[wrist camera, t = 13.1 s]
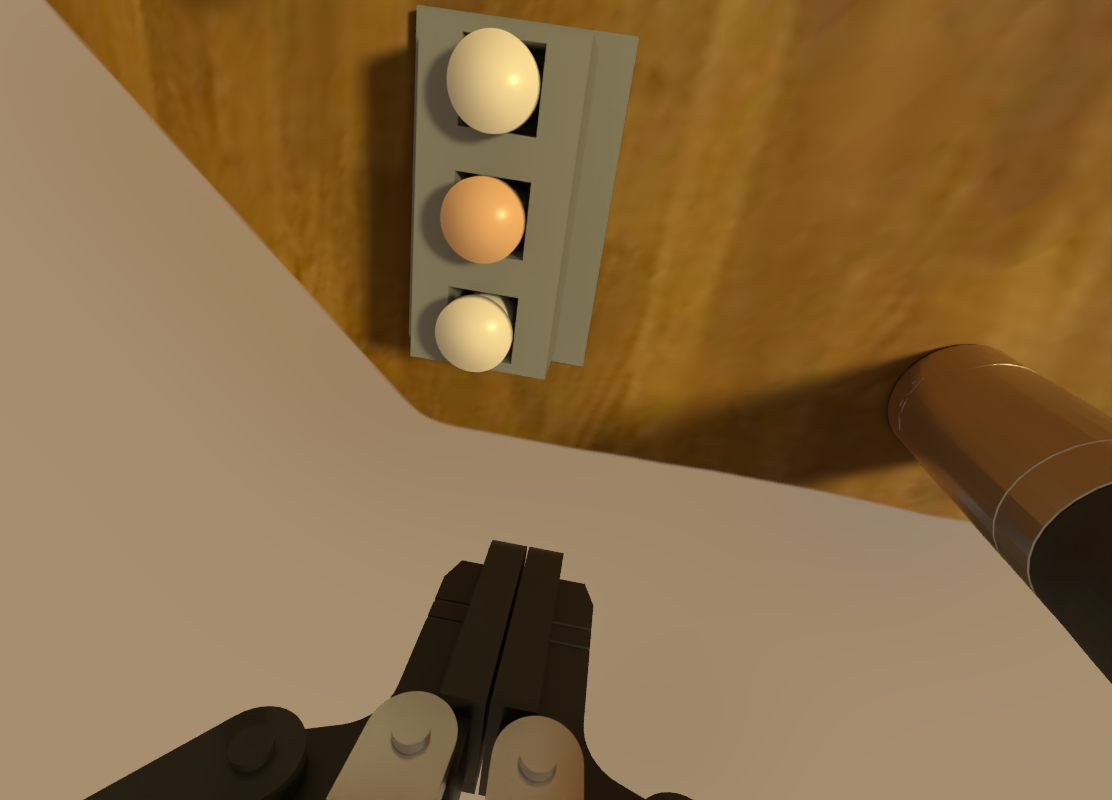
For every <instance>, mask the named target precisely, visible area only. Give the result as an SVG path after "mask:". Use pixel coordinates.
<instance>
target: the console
mask: <svg viewBox="0 0 1112 800" xmlns="http://www.w3.org/2000/svg"><path fill="white" fill-rule="evenodd" d="M483 28H497V29H502V30H504V31H507V32H509V33H511V34H512V35H514V36H515V37H517V38H518V39H519V40H520V41H521V42H523V43H524V44H525V46H526V47H527V48H528V49H529V50H530V52H531V53H532V55H533V57H534V59H535V61H536V63H537V66H538V70H539V72H540V73H541V74H542V76H543V81H542V90H541V99H540V108H539V116H538V117H537V118H536V119H535V120H533V121H531V122H529V123H526V124H523V125H522V126H520V127H519V128H517V129H516V130H514V131H511V132H508V133H504V134H488V133H484V132H480V131H478V130H476V129H474V128H472V127H470V126H469V125H468V124H466V123H465V122H464V121H463V120H462V119H461V118H460V116H459V115H458V114H457V112H456V111H455V109H454V107H453V105H452V103H451V100H450V98H449V94H448V90H447V68H448V64H449V60H450V57H451V55H452V53H453V51H454V49H455V48H456V46H457V45H458V44H459V42H460V41H461V40H462V39H463V38H464V37H466V36H467V35H468V34H470V33H472V32H474V31H476V30H479V29H483ZM638 42H639V37H637V36H630V35H623V34H617V33H610V32H603V31H596V30H589V29H582V28H575V27H568V26H561V25H554V24H547V23H540V22H534V21H527V20H520V19H513V18H506V17H499V16H492V15H485V14H478V13H471V12H464V11H457V10H450V9H444V8H437V7H430V6H423V5H417V16H416V57H415V98H414V138H413V179H412V220H411V261H410V301H409V336H411V351H410V356H414V357H420V358H425V359H431V360H437V361H442V362H448V363H450V362H449V361H448V360H447V359H446V358H445V357H444V356H443V354H442V353H441V351H440V349H439V347H438V345H437V342H436V338H435V325H436V321H437V319H438V316H439V315H440V313H441V312H442V311H443V309H444V308H445V307H447V306H448V305H449V304H450V303H451V302H452V301H454V300H455V299H457V298H459V297H462V296H465V295H473V294H474V293H475V292H476V291H479V292H485V293H491V294H497V295H503V296H509V297H515V298H518V306H517V315H516V322H515V324H514V325H513V327H512V328H513V340H512V344H511V347H510V349H509V351H508V353H507V354H506V356H505V358H504V359H503V360H502V361H501V362H500V363H499V364H498V365H497V366H495V367H494V368H492V369H490V370H493V371H499V372H504V373H510V374H516V375H521V376H527V377H533V378H538V379H544V380H545V377H546V374H547V372H548V369H549V366H550V363H551V361H554V362H560V363H565V364H571V365H577V366H583V362H584V356H585V351H586V345H587V339H588V333H589V327H590V322H591V316H592V310H593V304H594V298H595V292H596V287H597V281H598V275H599V269H600V263H601V258H602V252H603V246H604V240H605V234H606V228H607V223H608V217H609V211H610V205H611V199H612V193H613V188H614V182H615V176H616V170H617V164H618V159H619V153H620V147H621V141H622V135H623V129H624V124H625V118H626V112H627V106H628V100H629V95H630V89H631V83H632V77H633V71H634V65H635V60H636V54H637V48H638ZM482 175H484V176H491V177H495V178H497V179H500V180H501V179H512V180H517V181H519V182H521V183H522V184H524V185H525V186H526V187H527V189H528V190H529V191H530V198H529V207H528V216H527V225H526V227H525V230H524V233H523V237H522V239H521V241H520V243H519V244H518V246H517V247H516V248H515V249H514V250H513V251H512V252H511V253H510V254H509V255H508V256H507V257H505V258H504V259H502V260H500V261H497V262H494V263H489V264H479V263H474V262H471V261H468V260H466V259H464V258H463V257H461V256H460V255H458V254H457V253H456V252H455V251H454V250H453V249H452V248H451V247H450V245H449V244H448V242H447V241H446V239H445V237H444V234H443V232H442V228H441V222H440V212H441V207H442V203H443V200H444V198H445V196H446V194H447V193H448V192H449V190H450V189H451V188H452V187H453V186H454V185H455V184H457V183H458V182H460V181H462V180H464V179H467V178H470V177H474V176H482Z"/></svg>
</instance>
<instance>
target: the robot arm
mask: <svg viewBox="0 0 1112 800" xmlns="http://www.w3.org/2000/svg"><path fill="white" fill-rule="evenodd" d="M888 419H889V423H890V426H891V428H892V430H893V432H894V434H895V436H896V437H897V438H898V439H899V440H900V441H901V442H902V444H903V445H904V446H905V447H906V448H907V449H908V450H909V452H910V453H911V454H912V455H913V456H914V457H915V458H916V460H917V461H918V462H919V463H920V465H921V466H922V467H923V468H924V469H925V470H926V471H927V473H928V474H929V475H930V476H931V477H932V478H933V479H934V481H935V482H936V483H937V484H938V485H939V486H940V487H941V488H942V490H943V491H944V492H945V493H946V494H947V495H948V496H949V498H950V499H951V500H952V501H953V502H954V503H955V504H956V506H957V507H958V508H959V509H960V510H961V511H962V512H963V513H964V515H965V516H966V517H967V518H968V519H969V520H970V521H971V523H972V524H973V525H974V526H975V527H976V528H977V529H978V530H979V532H980V533H981V534H982V535H983V536H984V537H985V538H986V539H987V541H988V542H989V543H990V544H991V545H992V546H993V548H995V550H996V551H997V552H998V553H999V554H1000V555H1001V557H1002V558H1003V559H1004V560H1005V561H1006V562H1007V563H1008V564H1009V565H1010V566H1011V567H1012V569H1013V570H1014V571H1015V572H1016V573H1017V574H1018V576H1019V577H1020V578H1021V579H1022V580H1023V581H1024V582H1025V584H1026V585H1027V586H1028V587H1029V588H1030V589H1031V590H1032V591H1033V592H1034V594H1035V595H1036V596H1037V597H1038V598H1039V599H1040V600H1041V601H1042V603H1043V604H1044V605H1045V606H1046V607H1047V608H1048V609H1049V610H1050V612H1051V613H1052V614H1053V615H1054V616H1055V617H1056V618H1057V619H1058V621H1059V622H1060V623H1061V624H1062V625H1063V626H1064V628H1066V630H1067V631H1068V632H1069V634H1070V635H1071V636H1072V637H1073V638H1074V639H1075V641H1076V642H1077V643H1078V644H1079V646H1080V647H1081V648H1082V649H1083V650H1084V652H1085V653H1086V654H1087V655H1088V656H1089V658H1090V659H1091V660H1092V661H1093V662H1094V664H1095V665H1096V666H1097V667H1098V668H1099V669H1100V671H1102V673H1103V674H1104V675H1105V676H1106V678H1107V679H1108V680H1109V681H1110V682H1111V683H1112V417H1111V416H1110V415H1108V414H1106V413H1104V412H1103V411H1101V410H1099V409H1098V408H1096V407H1094V406H1092V405H1091V404H1089V403H1087V402H1086V401H1084V400H1082V399H1081V398H1079V397H1077V396H1075V395H1074V394H1072V393H1070V392H1069V391H1067V390H1065V389H1063V388H1062V387H1060V386H1058V385H1057V384H1055V383H1053V382H1052V381H1050V380H1048V379H1046V378H1045V377H1043V376H1041V375H1040V374H1038V373H1037V372H1035V371H1033V370H1032V369H1030V368H1028V367H1026V366H1025V365H1023V364H1021V363H1020V362H1018V361H1016V360H1014V359H1013V358H1011V357H1009V356H1008V355H1006V354H1004V353H1002V352H1000V351H998V350H995V349H993V348H991V347H986V346H981V345H958V346H953V347H948V348H945V349H942V350H939V351H937V352H934V353H932V354H930V355H928V356H926V357H925V358H923V359H921V360H919V361H918V362H917V363H916V364H914V365H913V366H912V367H911V368H909V369H908V370H907V371H906V372H905V374H904V375H903V376H902V377H901V378H900V379H899V380H898V382H897V384H896V386H895V387H894V389H893V391H892V394H891V397H890V400H889V403H888ZM526 551H527V546H522V545H517V544H511V543H506V542H501V541H496V540H493V541H492V542H491V545H490V548H489V550H488V554H487V556H486V559H485V562H484V565H483V564H478V563H472V562H467V561H461V562H460V563H459V564H458V565H457V566H455V567H454V568H453V569H452V570H451V571H450V572H449V573H448V574H447V575H445V577H444V579H443V581H442V584H441V586H440V588H439V590H438V593H437V595H436V598H435V602H433V605H432V607H431V609H430V612H429V614H428V618H427V619H426V621H425V624H424V626H423V628H422V630H421V633H420V635H419V637H418V640H417V642H416V644H415V647H414V649H413V651H412V654H411V656H410V659H409V661H408V664H407V666H406V668H405V671H404V673H403V675H402V678H401V680H400V682H399V684H398V686H397V688H396V690H395V692H394V694H393V695H392V696H391V698H390V699H389V700H387V701H385V702H384V703H383V704H381V705H380V706H379V707H378V708H377V709H376V710H375V711H374V713H372V714H371V715H369V716H367V717H365V718H363V719H361V720H358V721H355V722H352V723H348V724H343V725H335V726H327V727H318V728H310V729H305V728H304V726H303V724H302V722H301V720H300V719H299V718H298V717H297V716H296V715H295V714H294V713H292V712H291V711H289V710H287V709H284V708H280V707H273V706H267V707H259V708H253V709H250V710H247V711H244V712H242V713H240V714H238V715H236V716H234V717H232V718H230V719H228V720H227V721H225V722H223V723H221V724H219V725H218V726H216V727H214V728H212V729H211V730H209V731H207V732H205V733H203V734H201V735H200V736H198V737H196V738H194V739H192V740H190V741H189V742H187V743H185V744H183V745H181V746H180V747H178V748H176V749H174V750H173V751H171V752H169V753H167V754H165V755H163V756H162V757H160V758H158V759H156V760H154V761H153V762H151V763H149V764H147V765H145V766H144V767H142V768H140V769H138V770H137V771H135V772H133V773H131V774H129V775H128V776H126V777H124V778H122V779H120V780H118V781H117V782H115V783H113V784H111V785H109V786H108V787H106V788H104V789H102V790H100V791H98V792H97V793H95V794H93V795H91V796H90V797H88V798H86V799H84V800H459V798H460V794H461V791H462V792H467V793H472V794H475V789H476V785H477V781H478V777H479V773H480V769H481V764H482V760H483V764H482V771H481V779H480V786H479V795H482V796H485V800H692V799H690V798H688V797H686V796H683V795H681V794H677V793H671V792H667V793H666V792H665V793H658V794H654V795H652V796H650V797H648V798H647V799H644V798H642V797H640V796H639V795H637V794H635V793H634V792H632V791H630V790H629V789H627V788H625V787H624V786H622V785H620V784H618V783H617V782H616V781H614V780H612V779H611V778H610V777H609V776H607V774H605V773H604V772H603V771H602V770H601V768H600V767H599V766H598V765H597V764H596V762H595V761H594V759H593V758H592V756H591V754H590V752H589V750H588V748H587V745H586V741H585V738H584V712H585V699H586V688H587V675H588V663H589V649H590V639H591V626H592V615H593V604H592V602H591V599H590V596H589V594H588V591H587V589H586V586H585V584H582V583H576V582H571V581H566V580H561V579H560V573H561V567H562V560H563V553H559V552H554V551H549V550H543V549H538V548H533V547H529V551H528V555H527V559H526ZM525 559H526V563H525ZM524 566H525V567H524Z"/></svg>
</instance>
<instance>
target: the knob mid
mask: <svg viewBox="0 0 1112 800" xmlns="http://www.w3.org/2000/svg"><path fill="white" fill-rule="evenodd" d="M529 198H530V191H529V190H528V189H527V187H526V186H525V185H524V184H522V183H521V182H519V181H517V180H512V179H501V180H500V179H497V178H495V177H491V176H484V175H482V176H474V177H470V178H467V179H464V180H462V181H460V182H458V183H457V184H455V185H454V186H453V187H452V188H451V189H450V190H449V192H448V193H447V194H446V196H445V198H444V200H443V203H442V207H441V212H440V222H441V228H442V232H443V234H444V237H445V239H446V241H447V242H448V244H449V245H450V247H451V248H452V249H453V250H454V251H455V252H456V253H457V254H458V255H460V256H461V257H463V258H464V259H466V260H468V261H471V262H474V263H479V264H489V263H494V262H497V261H500V260H502V259H504V258H505V257H507V256H508V255H509V254H510V253H511V252H512V251H513V250H514V249H515V248H516V247H517V246H518V244H519V243H520V241H521V239H522V237H523V233H524V230H525V227H526V225H527V216H528V207H529Z"/></svg>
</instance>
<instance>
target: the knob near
mask: <svg viewBox="0 0 1112 800" xmlns="http://www.w3.org/2000/svg"><path fill="white" fill-rule="evenodd" d="M542 81H543V76H542V74H541V73H540V72H539V70H538V66H537V63H536V61H535V59H534V57H533V55H532V53H531V52H530V50H529V49H528V48H527V47H526V46H525V44H524V43H523V42H521V41H520V40H519V39H518V38H517V37H515V36H514V35H512V34H511V33H509V32H507V31H504V30H502V29H497V28H483V29H479V30H476V31H474V32H472V33H470V34H468V35H467V36H466V37H464V38H463V39H462V40H461V41H460V42H459V44H458V45H457V46H456V48H455V49H454V51H453V53H452V55H451V57H450V60H449V64H448V68H447V90H448V94H449V98H450V100H451V103H452V105H453V107H454V109H455V111H456V112H457V114H458V115H459V116H460V118H461V119H462V120H463V121H464V122H465V123H466V124H468V125H469V126H470V127H472V128H474V129H476V130H478V131H480V132H484V133H488V134H504V133H508V132H511V131H514V130H516V129H517V128H519V127H520V126H522V125H523V124H526V123H529V122H531V121H533V120H535V119H536V118H537V117H538V116H539V108H540V99H541V90H542Z"/></svg>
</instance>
